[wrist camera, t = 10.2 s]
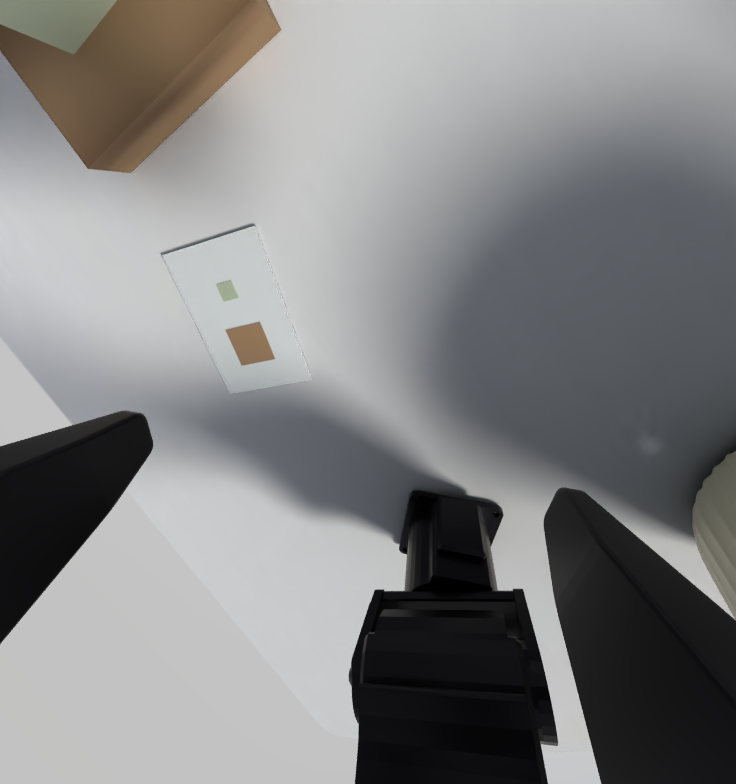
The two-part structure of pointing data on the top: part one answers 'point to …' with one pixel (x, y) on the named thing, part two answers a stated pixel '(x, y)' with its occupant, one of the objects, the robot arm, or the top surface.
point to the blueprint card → (239, 311)
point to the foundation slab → (139, 72)
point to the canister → (718, 527)
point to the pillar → (55, 19)
